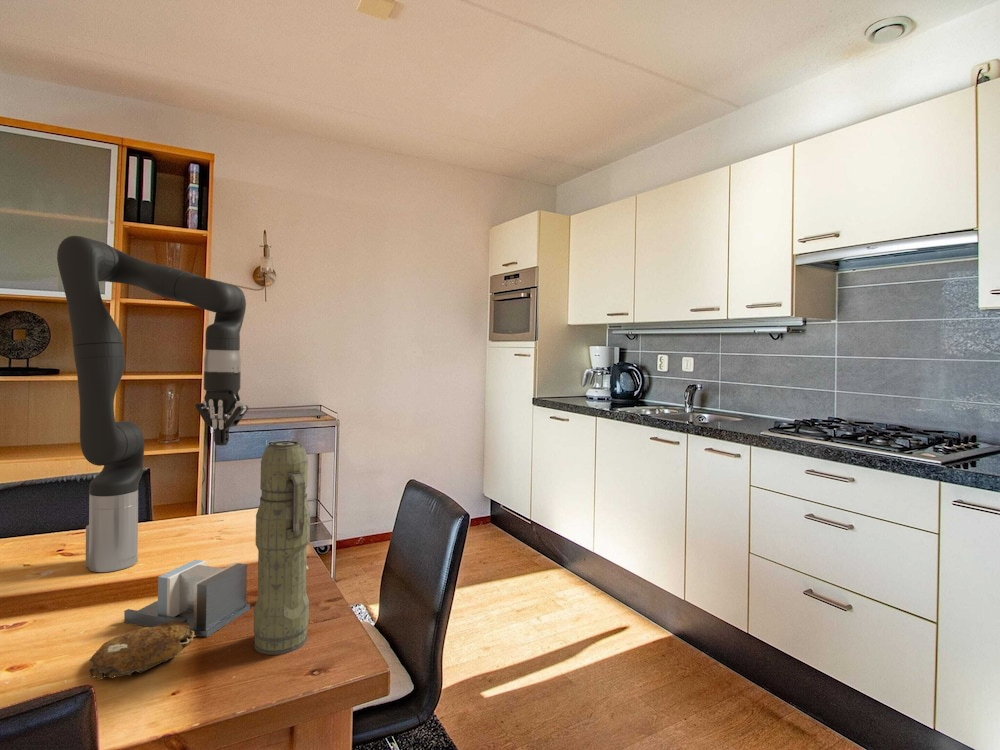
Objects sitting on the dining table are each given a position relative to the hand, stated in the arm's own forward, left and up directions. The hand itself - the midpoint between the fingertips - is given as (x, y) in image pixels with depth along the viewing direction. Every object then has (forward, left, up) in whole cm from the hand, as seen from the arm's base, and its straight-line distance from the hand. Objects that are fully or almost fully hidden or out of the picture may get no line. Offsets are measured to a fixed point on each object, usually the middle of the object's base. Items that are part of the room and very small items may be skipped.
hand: (221, 445), depth 124 cm
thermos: (+33, -24, -29) cm, 50 cm away
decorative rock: (+15, -34, -29) cm, 47 cm away
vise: (+11, -21, -29) cm, 37 cm away
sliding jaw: (+9, -20, -28) cm, 36 cm away
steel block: (+14, -21, -28) cm, 37 cm away
